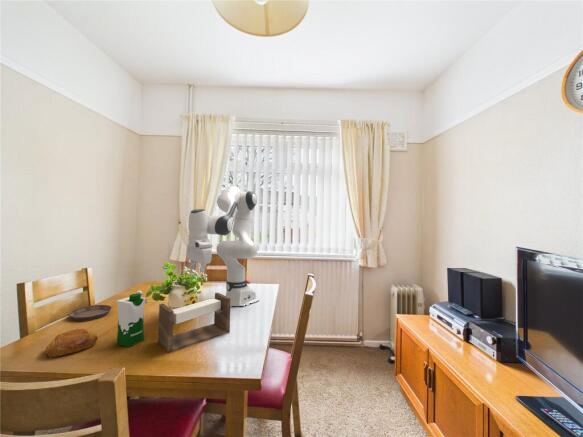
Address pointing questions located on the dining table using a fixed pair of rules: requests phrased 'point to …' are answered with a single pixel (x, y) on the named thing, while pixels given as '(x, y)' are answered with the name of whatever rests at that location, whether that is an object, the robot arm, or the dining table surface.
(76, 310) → the plant saucer
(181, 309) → the shelf board
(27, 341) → the dining table surface
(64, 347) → the croissant
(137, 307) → the milk carton
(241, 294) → the robot arm
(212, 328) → the shelf frame
